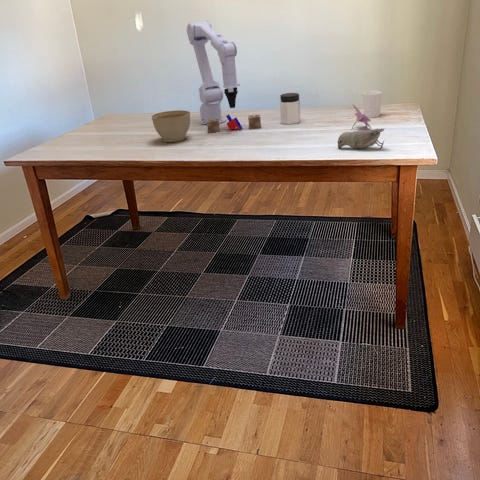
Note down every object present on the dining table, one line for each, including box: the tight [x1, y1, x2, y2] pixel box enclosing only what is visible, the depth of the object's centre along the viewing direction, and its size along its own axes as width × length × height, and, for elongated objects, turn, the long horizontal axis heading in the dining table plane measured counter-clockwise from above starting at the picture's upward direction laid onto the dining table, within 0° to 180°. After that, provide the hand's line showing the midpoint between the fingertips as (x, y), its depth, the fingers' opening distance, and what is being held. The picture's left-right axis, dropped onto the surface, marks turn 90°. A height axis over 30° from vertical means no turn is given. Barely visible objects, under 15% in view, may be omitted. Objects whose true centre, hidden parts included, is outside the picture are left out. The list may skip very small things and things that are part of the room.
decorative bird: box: [337, 127, 386, 150], centre depth 175 cm, size 5×16×8 cm, turn 70°
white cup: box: [362, 90, 383, 119], centre depth 216 cm, size 8×8×10 cm
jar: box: [279, 92, 301, 125], centre depth 219 cm, size 9×8×12 cm
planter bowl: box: [150, 109, 191, 143], centre depth 209 cm, size 16×16×11 cm
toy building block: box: [225, 114, 243, 131], centre depth 217 cm, size 4×4×8 cm
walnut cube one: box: [247, 114, 262, 130], centre depth 217 cm, size 5×5×5 cm
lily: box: [350, 102, 372, 131], centre depth 199 cm, size 12×12×10 cm
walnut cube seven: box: [206, 119, 221, 134], centre depth 218 cm, size 5×5×5 cm
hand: (232, 106), depth 214 cm, fingers open, 5 cm apart
